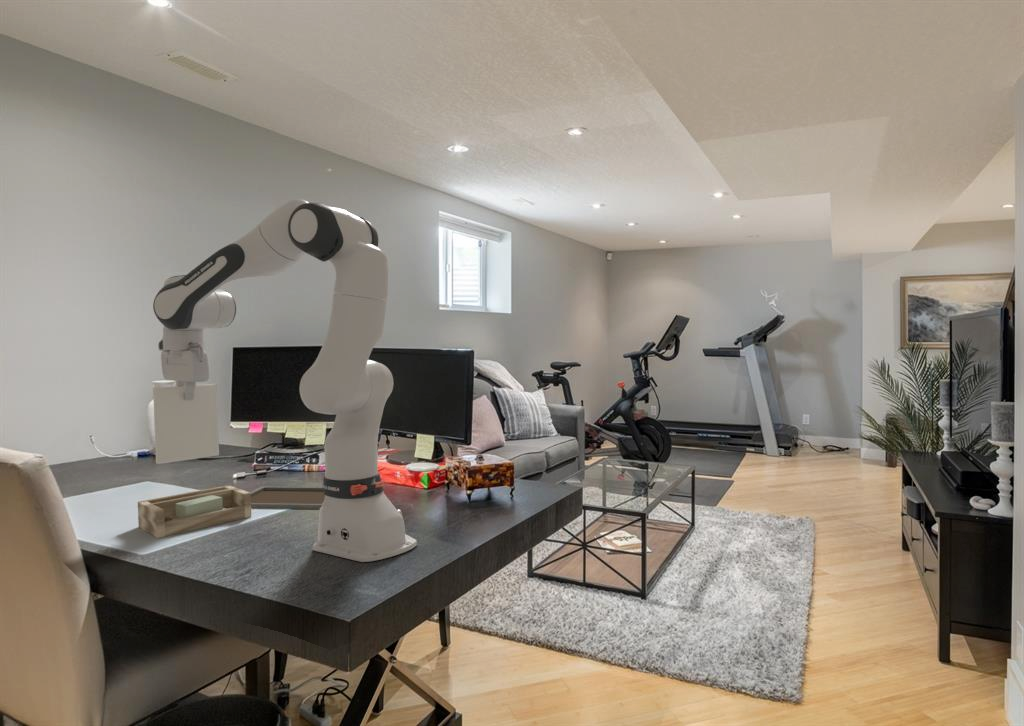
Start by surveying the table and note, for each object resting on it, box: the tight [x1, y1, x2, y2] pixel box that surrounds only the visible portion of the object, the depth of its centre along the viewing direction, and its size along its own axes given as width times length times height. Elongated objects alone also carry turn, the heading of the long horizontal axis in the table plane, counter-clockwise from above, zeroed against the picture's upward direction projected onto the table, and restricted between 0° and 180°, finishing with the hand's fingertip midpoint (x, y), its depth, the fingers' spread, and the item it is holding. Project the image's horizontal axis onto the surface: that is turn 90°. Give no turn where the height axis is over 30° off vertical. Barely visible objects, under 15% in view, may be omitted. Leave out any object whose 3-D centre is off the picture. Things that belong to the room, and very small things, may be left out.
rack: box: [137, 484, 252, 539], centre depth 148 cm, size 13×21×6 cm, turn 138°
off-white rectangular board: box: [152, 383, 220, 465], centre depth 150 cm, size 2×14×18 cm, turn 138°
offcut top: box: [175, 495, 223, 518], centre depth 147 cm, size 4×9×3 cm, turn 147°
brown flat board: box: [249, 485, 325, 510], centre depth 169 cm, size 19×2×30 cm
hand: (186, 399), depth 150 cm, fingers closed on off-white rectangular board, 2 cm apart
